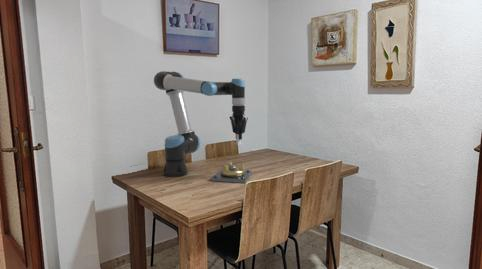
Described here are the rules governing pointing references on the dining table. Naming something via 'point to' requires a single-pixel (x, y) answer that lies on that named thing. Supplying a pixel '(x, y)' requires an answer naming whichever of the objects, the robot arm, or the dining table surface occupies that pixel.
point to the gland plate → (239, 179)
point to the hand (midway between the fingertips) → (238, 144)
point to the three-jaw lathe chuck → (232, 170)
